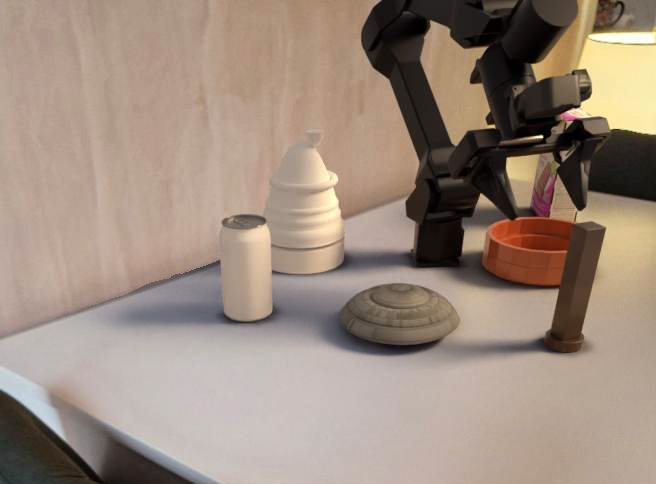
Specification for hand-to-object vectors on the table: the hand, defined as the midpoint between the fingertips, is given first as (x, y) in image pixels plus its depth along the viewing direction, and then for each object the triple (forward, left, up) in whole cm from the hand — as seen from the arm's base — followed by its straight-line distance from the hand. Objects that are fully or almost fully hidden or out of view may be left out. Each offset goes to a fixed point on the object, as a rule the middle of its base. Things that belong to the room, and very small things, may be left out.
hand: (549, 214), depth 89 cm
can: (-36, +5, -13) cm, 39 cm away
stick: (+2, -7, -13) cm, 15 cm away
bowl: (+6, +18, -13) cm, 23 cm away
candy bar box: (+15, +41, -13) cm, 46 cm away
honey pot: (-28, +25, -13) cm, 40 cm away
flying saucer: (-17, -1, -13) cm, 22 cm away
